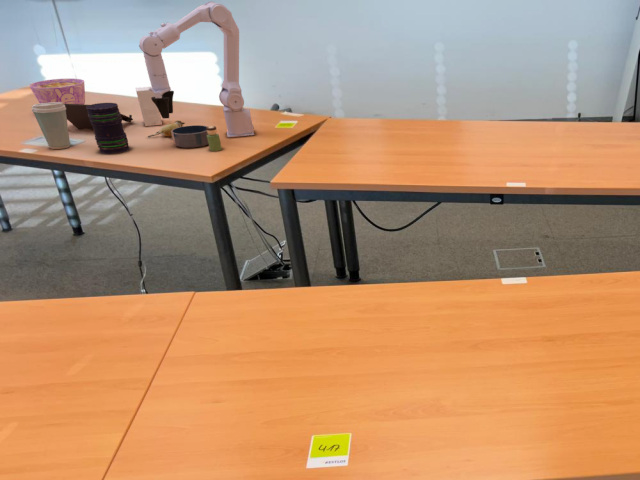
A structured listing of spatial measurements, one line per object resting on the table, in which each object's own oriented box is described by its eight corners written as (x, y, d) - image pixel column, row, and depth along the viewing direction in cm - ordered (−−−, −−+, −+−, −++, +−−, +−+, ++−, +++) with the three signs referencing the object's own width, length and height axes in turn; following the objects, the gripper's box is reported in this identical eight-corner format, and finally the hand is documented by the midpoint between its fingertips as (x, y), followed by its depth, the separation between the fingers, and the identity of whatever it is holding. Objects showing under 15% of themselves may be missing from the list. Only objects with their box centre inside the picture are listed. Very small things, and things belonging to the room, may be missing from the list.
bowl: (212, 137, 269) (208, 123, 266) (213, 146, 259) (210, 132, 256) (174, 141, 265) (170, 127, 262) (174, 150, 255) (171, 135, 252)
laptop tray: (139, 139, 290) (139, 115, 289) (98, 125, 267) (98, 99, 266) (87, 136, 293) (87, 113, 292) (42, 122, 270) (42, 96, 269)
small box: (162, 124, 285) (153, 89, 278) (145, 126, 283) (135, 91, 276) (161, 120, 292) (152, 86, 284) (144, 122, 289) (134, 87, 282)
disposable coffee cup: (39, 147, 258) (24, 102, 250) (71, 141, 265) (57, 98, 257) (50, 152, 252) (35, 107, 244) (82, 146, 259) (69, 102, 251)
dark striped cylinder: (133, 145, 260) (120, 102, 251) (127, 153, 252) (114, 108, 243) (103, 147, 258) (89, 103, 250) (96, 155, 250) (82, 109, 242)
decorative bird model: (175, 130, 264) (183, 116, 271) (142, 135, 266) (151, 121, 272) (181, 140, 268) (188, 126, 274) (148, 145, 269) (157, 131, 276)
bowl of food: (77, 118, 295) (68, 88, 288) (29, 118, 295) (18, 87, 289) (101, 107, 311) (93, 78, 305) (55, 107, 312) (46, 78, 305)
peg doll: (221, 147, 258) (216, 124, 253) (222, 150, 255) (217, 127, 250) (209, 148, 257) (204, 125, 252) (210, 151, 253) (204, 128, 249)
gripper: (149, 71, 254) (159, 111, 262) (140, 78, 243) (151, 121, 250) (170, 70, 256) (180, 110, 263) (163, 78, 244) (173, 119, 251)
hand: (167, 115), depth 257 cm, fingers open, 7 cm apart
